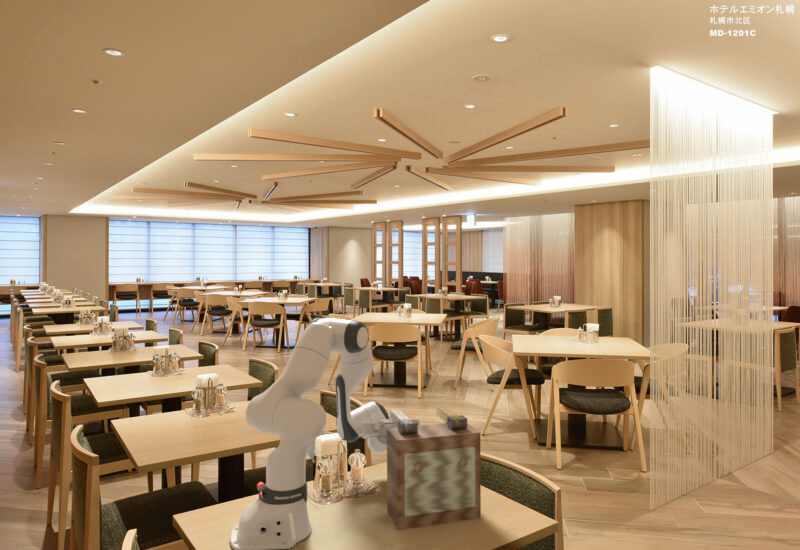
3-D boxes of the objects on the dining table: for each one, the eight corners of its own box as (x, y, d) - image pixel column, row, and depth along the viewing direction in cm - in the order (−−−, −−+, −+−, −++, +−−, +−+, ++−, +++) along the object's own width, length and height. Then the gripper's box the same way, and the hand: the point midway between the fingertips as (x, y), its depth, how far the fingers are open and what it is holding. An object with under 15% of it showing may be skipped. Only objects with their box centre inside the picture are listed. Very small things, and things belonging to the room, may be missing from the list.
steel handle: (401, 434, 157) (401, 424, 157) (387, 419, 174) (387, 410, 174) (417, 433, 159) (417, 423, 159) (402, 417, 175) (401, 408, 175)
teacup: (300, 454, 216) (300, 430, 216) (337, 455, 215) (336, 430, 215) (293, 466, 204) (292, 440, 204) (331, 466, 203) (331, 440, 203)
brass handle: (452, 429, 162) (452, 420, 162) (433, 415, 178) (433, 406, 178) (467, 428, 163) (467, 418, 163) (447, 413, 179) (447, 405, 179)
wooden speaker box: (399, 533, 151) (398, 442, 151) (387, 512, 165) (386, 428, 164) (483, 520, 159) (482, 434, 158) (465, 501, 172) (464, 421, 171)
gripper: (355, 426, 183) (363, 415, 172) (412, 421, 189) (423, 410, 177) (357, 444, 180) (365, 434, 169) (415, 439, 186) (426, 429, 174)
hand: (395, 422), depth 173 cm, fingers open, 8 cm apart
